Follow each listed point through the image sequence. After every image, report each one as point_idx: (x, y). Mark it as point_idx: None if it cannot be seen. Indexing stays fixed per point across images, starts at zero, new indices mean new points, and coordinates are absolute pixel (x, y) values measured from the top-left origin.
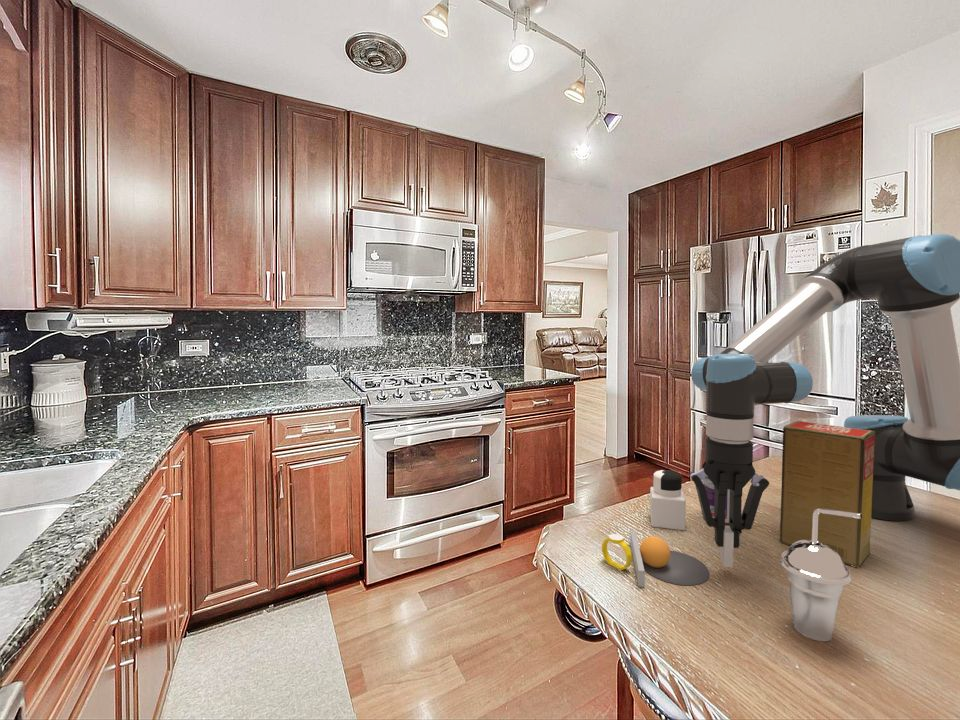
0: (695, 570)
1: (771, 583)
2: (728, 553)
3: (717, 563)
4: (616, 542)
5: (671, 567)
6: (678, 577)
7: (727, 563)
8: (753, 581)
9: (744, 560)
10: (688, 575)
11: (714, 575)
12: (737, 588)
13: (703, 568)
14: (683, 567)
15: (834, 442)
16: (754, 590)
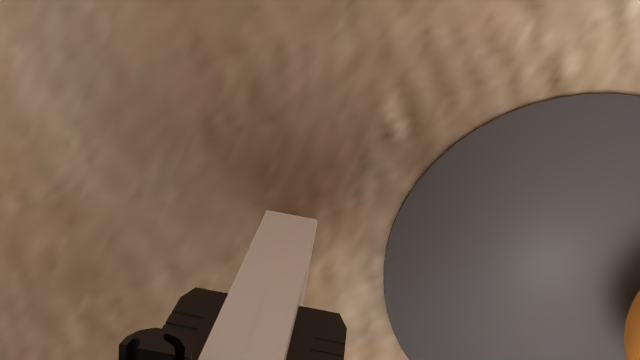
0: (468, 240)
1: (92, 129)
2: (279, 257)
3: None
4: None
5: (603, 268)
6: (617, 169)
7: (295, 224)
8: (181, 146)
9: None
10: (541, 189)
11: (374, 200)
12: (303, 74)
13: (410, 259)
14: (525, 269)
15: None
16: (214, 58)
